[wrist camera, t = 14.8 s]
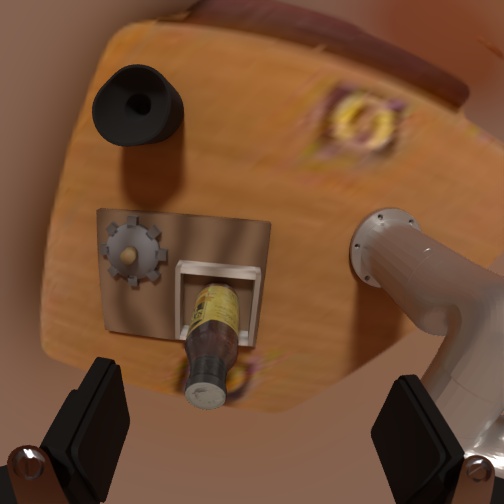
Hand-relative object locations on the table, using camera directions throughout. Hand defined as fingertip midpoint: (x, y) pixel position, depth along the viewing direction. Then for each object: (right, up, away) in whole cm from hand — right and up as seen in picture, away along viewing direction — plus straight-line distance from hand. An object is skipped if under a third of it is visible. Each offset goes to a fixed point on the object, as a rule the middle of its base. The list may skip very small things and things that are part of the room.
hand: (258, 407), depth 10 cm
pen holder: (-14, +24, +30) cm, 41 cm away
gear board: (-11, +1, +38) cm, 39 cm away
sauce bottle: (-5, -2, +37) cm, 38 cm away
